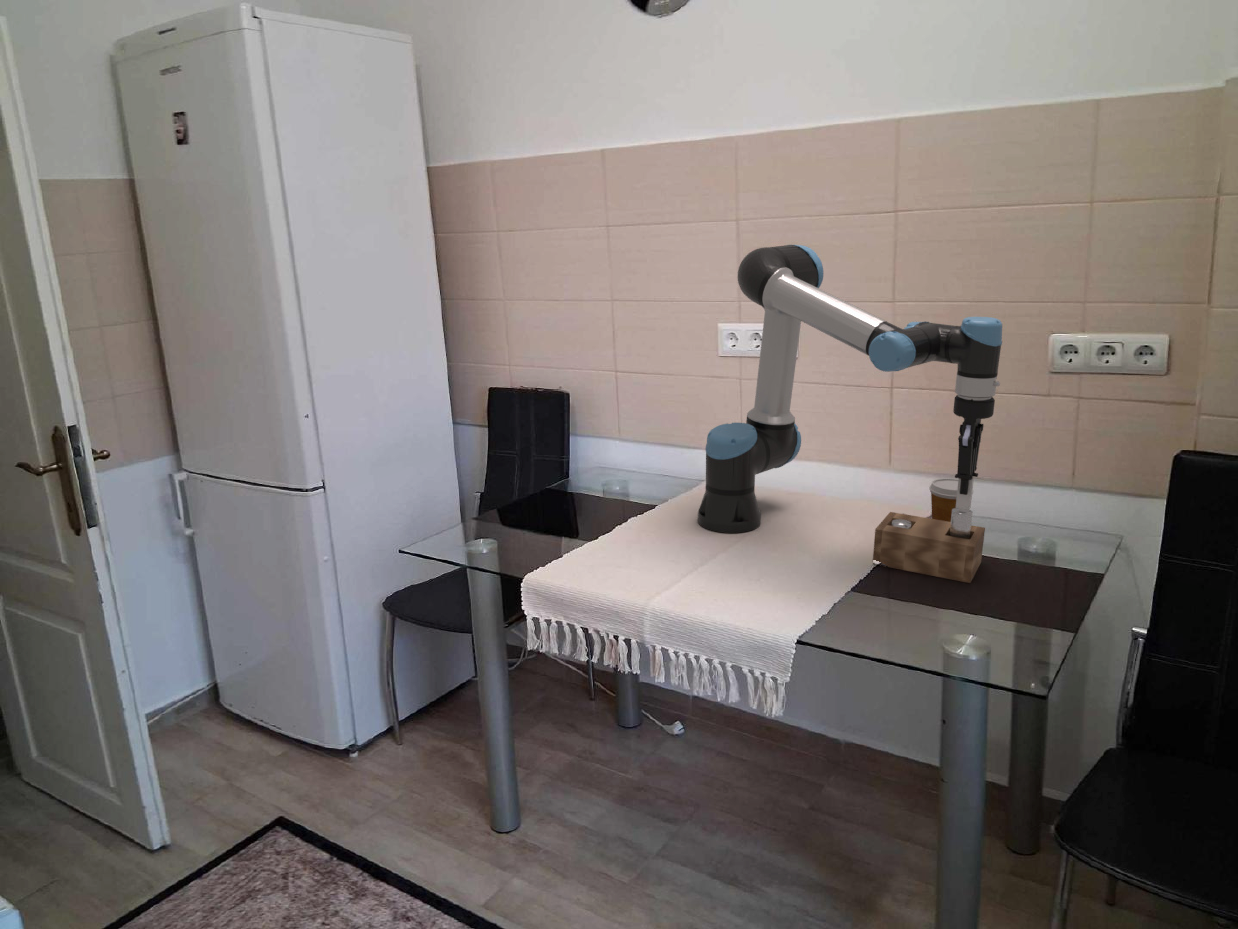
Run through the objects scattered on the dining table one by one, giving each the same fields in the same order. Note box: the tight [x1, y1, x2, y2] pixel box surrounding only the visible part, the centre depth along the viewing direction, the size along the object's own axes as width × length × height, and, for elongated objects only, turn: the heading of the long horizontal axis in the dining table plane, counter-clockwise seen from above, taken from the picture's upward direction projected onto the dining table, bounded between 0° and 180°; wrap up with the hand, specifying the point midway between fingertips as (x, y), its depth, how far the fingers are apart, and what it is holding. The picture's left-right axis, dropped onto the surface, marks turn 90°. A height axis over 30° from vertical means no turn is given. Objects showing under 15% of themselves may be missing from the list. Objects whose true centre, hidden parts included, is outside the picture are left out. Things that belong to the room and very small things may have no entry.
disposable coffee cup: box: [928, 477, 974, 522], centre depth 210 cm, size 10×10×12 cm
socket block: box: [872, 511, 986, 584], centre depth 194 cm, size 20×12×8 cm, turn 59°
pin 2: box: [949, 508, 973, 539], centre depth 189 cm, size 4×4×7 cm
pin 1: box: [892, 519, 911, 529], centre depth 197 cm, size 4×4×7 cm
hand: (963, 507), depth 188 cm, fingers closed
